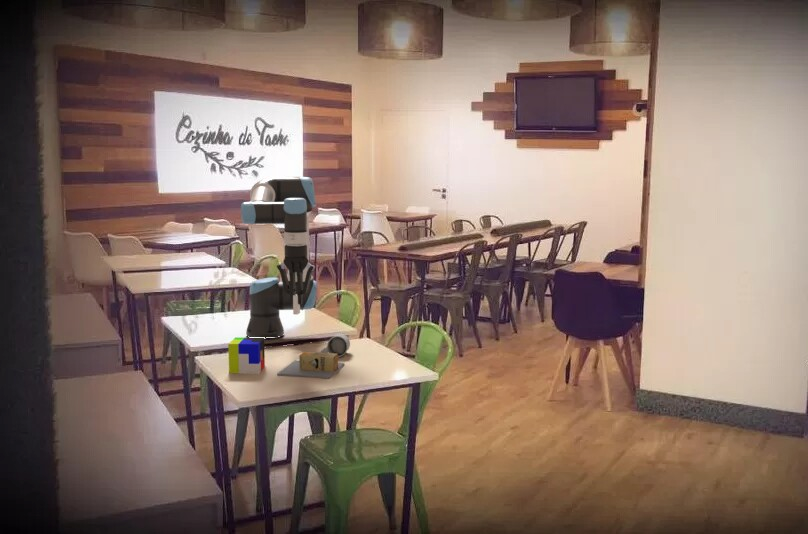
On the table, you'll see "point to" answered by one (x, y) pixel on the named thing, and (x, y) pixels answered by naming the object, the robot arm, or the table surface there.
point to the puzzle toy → (246, 355)
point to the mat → (306, 371)
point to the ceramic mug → (337, 345)
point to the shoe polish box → (318, 361)
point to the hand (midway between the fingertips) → (296, 313)
